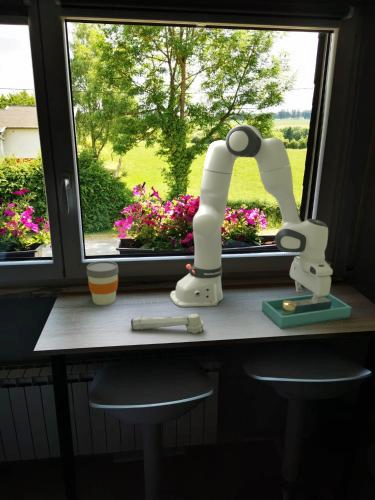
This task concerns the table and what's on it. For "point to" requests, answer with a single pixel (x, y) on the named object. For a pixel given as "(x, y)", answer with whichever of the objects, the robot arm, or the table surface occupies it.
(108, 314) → the table surface
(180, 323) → the white flashlight
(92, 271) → the reusable coffee cup
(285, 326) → the bin
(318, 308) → the strut
